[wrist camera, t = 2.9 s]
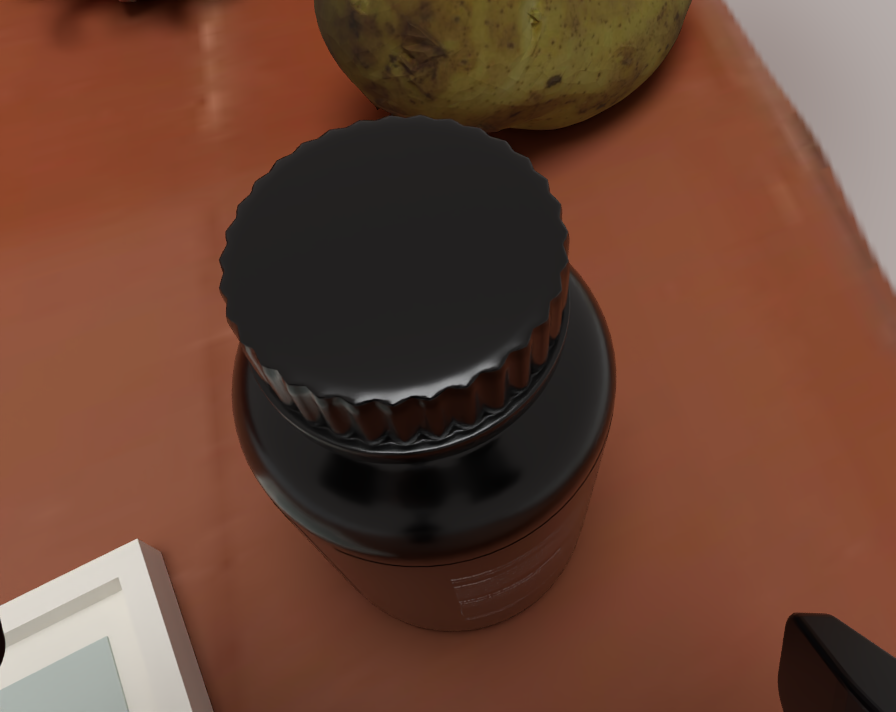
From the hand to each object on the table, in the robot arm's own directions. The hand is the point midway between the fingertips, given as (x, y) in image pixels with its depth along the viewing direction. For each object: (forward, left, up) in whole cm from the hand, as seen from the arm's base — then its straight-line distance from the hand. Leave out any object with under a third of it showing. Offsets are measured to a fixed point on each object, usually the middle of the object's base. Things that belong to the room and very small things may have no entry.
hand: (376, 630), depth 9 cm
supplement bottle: (+4, -2, -12) cm, 13 cm away
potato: (+16, -11, -12) cm, 23 cm away
